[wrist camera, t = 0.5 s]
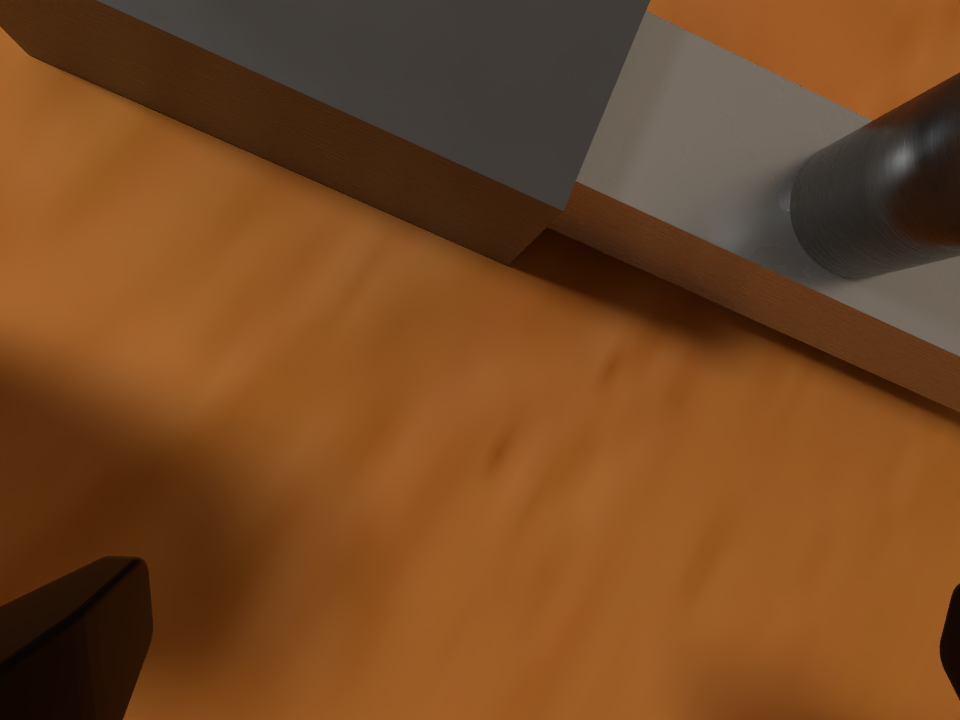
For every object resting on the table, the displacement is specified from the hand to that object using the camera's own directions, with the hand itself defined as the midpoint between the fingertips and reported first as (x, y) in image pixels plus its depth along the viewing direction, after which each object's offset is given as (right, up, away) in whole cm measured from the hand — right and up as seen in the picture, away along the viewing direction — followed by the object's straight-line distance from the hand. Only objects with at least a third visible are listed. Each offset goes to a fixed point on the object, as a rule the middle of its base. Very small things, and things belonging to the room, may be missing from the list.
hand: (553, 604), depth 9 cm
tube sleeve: (-5, +11, +13) cm, 17 cm away
